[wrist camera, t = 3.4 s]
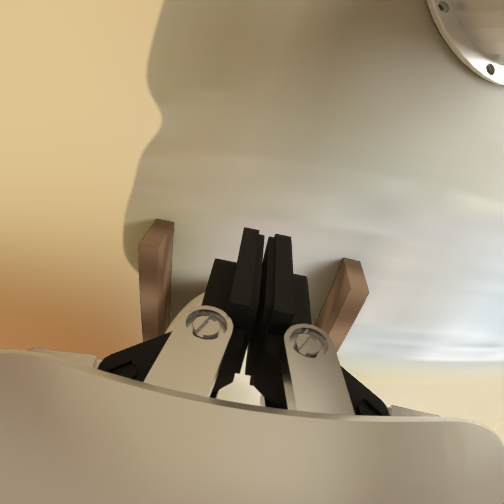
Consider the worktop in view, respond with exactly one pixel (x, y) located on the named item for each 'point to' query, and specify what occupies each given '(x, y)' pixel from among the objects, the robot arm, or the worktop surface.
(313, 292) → the worktop surface
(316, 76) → the worktop surface
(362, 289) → the wooden planks
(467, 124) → the worktop surface
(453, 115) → the worktop surface
